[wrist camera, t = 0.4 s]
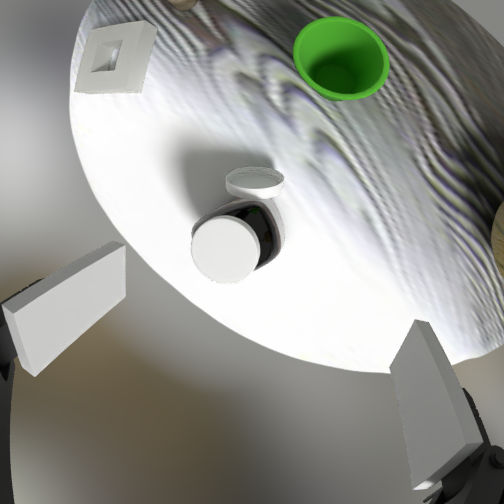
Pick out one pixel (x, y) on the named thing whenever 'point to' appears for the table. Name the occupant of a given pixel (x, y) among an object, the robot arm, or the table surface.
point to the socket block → (128, 63)
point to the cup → (341, 58)
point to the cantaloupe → (498, 239)
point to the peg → (183, 4)
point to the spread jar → (241, 227)
